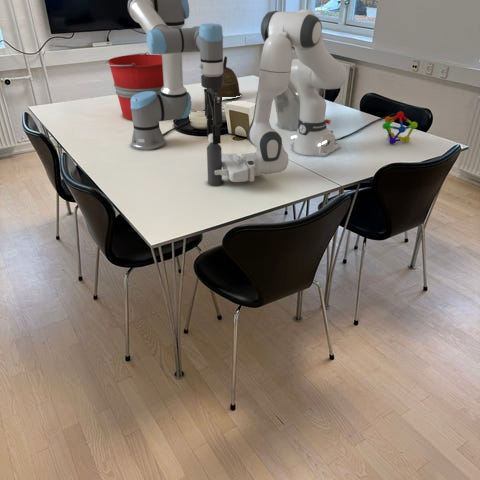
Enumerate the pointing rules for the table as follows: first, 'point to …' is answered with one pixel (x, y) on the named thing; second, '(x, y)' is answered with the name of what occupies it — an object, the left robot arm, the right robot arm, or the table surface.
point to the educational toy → (398, 128)
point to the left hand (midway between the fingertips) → (213, 140)
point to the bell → (229, 82)
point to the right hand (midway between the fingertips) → (212, 168)
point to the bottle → (214, 164)
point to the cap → (210, 138)
